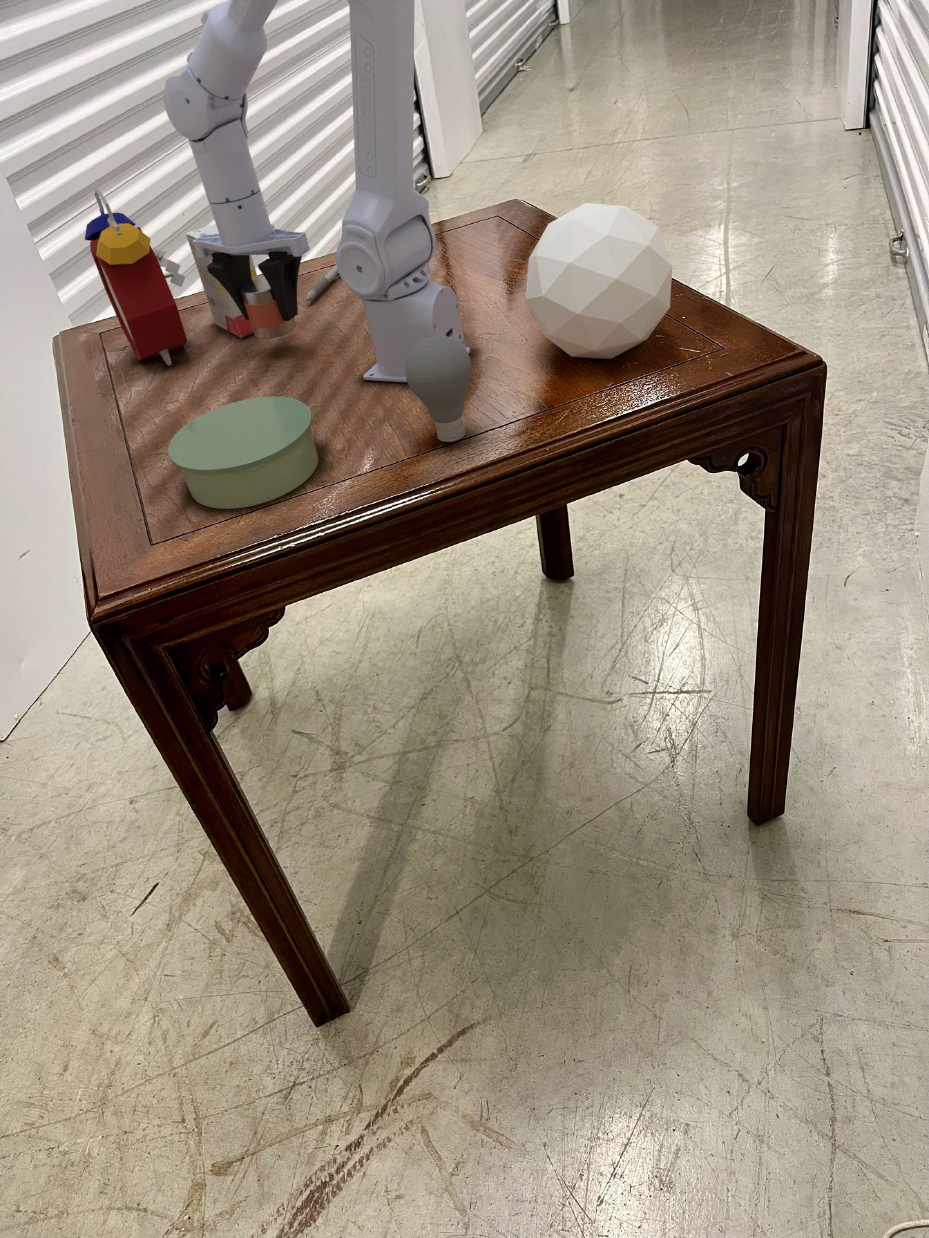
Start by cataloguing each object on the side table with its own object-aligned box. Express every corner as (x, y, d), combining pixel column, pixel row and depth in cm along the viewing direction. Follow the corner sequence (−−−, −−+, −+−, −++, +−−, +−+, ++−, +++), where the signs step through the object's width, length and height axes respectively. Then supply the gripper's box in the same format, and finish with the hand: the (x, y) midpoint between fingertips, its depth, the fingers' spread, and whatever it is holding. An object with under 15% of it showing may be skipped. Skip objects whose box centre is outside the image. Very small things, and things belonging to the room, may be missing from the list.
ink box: (274, 326, 120) (246, 231, 113) (240, 340, 118) (208, 244, 111) (248, 311, 126) (218, 220, 119) (214, 324, 124) (182, 232, 117)
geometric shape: (618, 376, 104) (670, 239, 101) (655, 384, 90) (718, 224, 86) (497, 331, 102) (546, 189, 98) (516, 332, 88) (574, 165, 84)
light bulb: (408, 445, 89) (385, 345, 83) (453, 418, 92) (433, 319, 86) (451, 461, 86) (430, 358, 79) (496, 432, 88) (479, 330, 82)
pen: (350, 266, 133) (347, 256, 132) (312, 306, 123) (309, 295, 122) (343, 266, 133) (341, 256, 133) (305, 306, 123) (302, 296, 123)
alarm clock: (126, 344, 124) (60, 184, 111) (188, 323, 126) (131, 164, 114) (149, 380, 113) (79, 207, 100) (217, 356, 115) (157, 184, 103)
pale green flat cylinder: (350, 442, 92) (338, 400, 89) (271, 520, 83) (255, 476, 80) (240, 432, 98) (226, 392, 95) (156, 503, 89) (137, 462, 86)
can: (305, 321, 112) (291, 275, 108) (281, 340, 108) (266, 293, 105) (270, 320, 114) (256, 275, 110) (246, 339, 110) (230, 293, 107)
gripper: (309, 180, 101) (341, 303, 109) (205, 185, 107) (243, 302, 116) (272, 202, 96) (308, 329, 105) (165, 207, 103) (208, 326, 111)
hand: (272, 317), depth 110 cm, fingers closed on can, 5 cm apart
